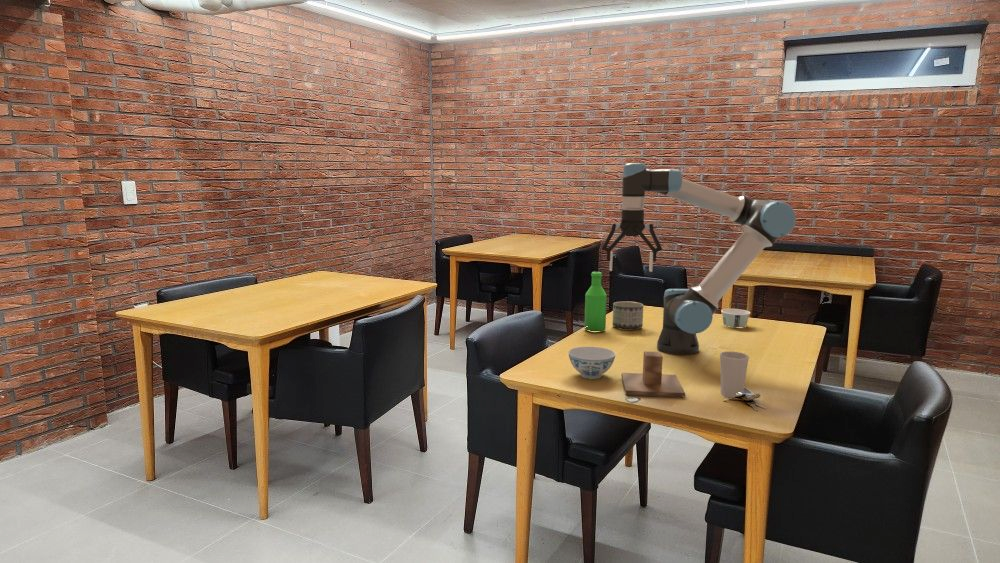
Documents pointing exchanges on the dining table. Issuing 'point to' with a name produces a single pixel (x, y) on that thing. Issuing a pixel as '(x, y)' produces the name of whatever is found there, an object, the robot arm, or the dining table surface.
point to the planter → (627, 315)
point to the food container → (735, 317)
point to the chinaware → (591, 361)
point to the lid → (652, 379)
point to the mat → (655, 395)
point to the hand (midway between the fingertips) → (630, 270)
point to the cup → (733, 372)
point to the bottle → (595, 305)
